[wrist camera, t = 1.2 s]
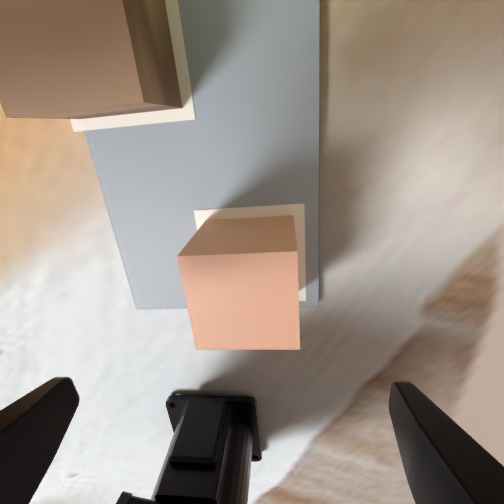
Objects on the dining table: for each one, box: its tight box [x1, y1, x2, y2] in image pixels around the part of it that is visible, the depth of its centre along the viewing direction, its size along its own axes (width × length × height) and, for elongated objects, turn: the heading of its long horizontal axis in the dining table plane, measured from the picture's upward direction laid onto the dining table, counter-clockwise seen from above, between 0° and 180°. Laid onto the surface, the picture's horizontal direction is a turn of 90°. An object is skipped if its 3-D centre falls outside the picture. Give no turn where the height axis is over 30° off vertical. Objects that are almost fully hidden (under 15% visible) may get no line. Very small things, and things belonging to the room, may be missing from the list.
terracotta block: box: [177, 215, 300, 350], centre depth 14 cm, size 4×4×4 cm
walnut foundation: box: [0, 0, 183, 119], centre depth 11 cm, size 5×5×4 cm
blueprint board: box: [70, 0, 320, 309], centre depth 14 cm, size 16×12×1 cm
